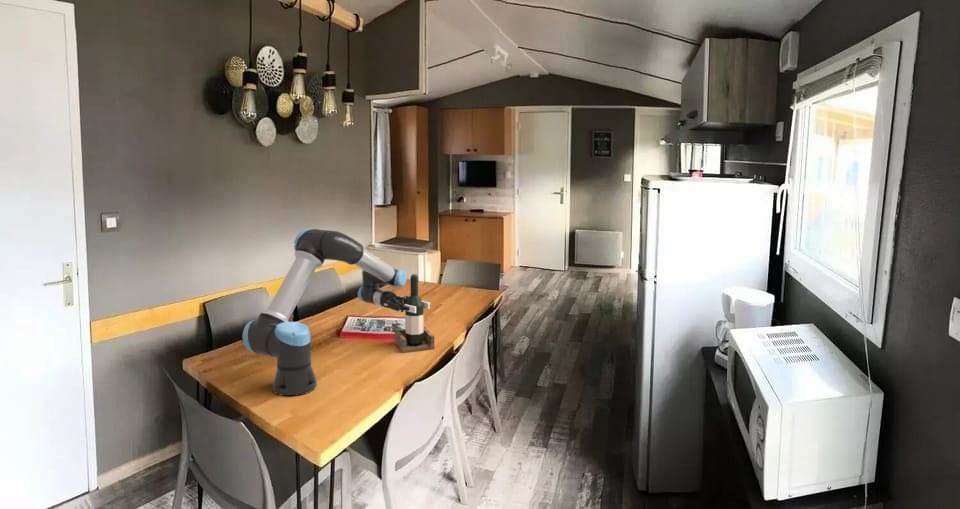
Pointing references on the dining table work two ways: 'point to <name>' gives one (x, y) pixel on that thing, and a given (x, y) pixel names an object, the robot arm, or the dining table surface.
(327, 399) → the dining table surface
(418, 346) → the walnut rest
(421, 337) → the wine bottle
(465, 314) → the dining table surface
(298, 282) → the robot arm
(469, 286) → the dining table surface
